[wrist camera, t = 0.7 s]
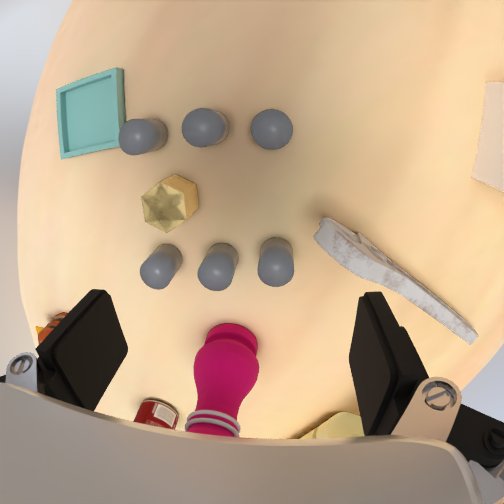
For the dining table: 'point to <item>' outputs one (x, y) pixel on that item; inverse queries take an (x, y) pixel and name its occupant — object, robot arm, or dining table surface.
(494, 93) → the milk
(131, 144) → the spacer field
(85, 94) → the teal dish
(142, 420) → the soda can
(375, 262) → the silver wrench
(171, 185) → the gold hexagonal prism
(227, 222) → the dining table surface
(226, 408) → the pepper mill
